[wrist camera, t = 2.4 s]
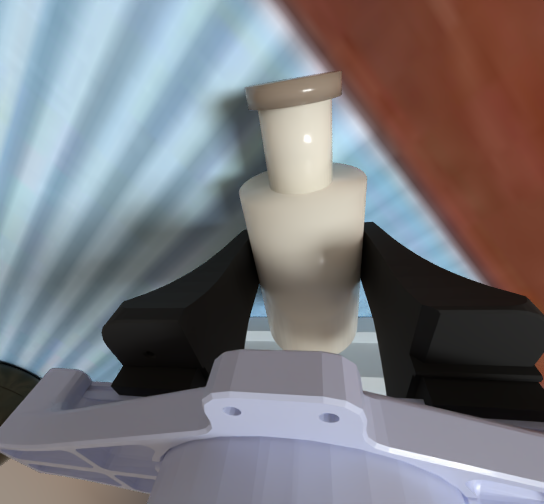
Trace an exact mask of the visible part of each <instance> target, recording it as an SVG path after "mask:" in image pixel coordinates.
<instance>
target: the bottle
mask: <svg viewBox="0 0 544 504" xmlns="http://www.w3.org/2000/svg"><path fill="white" fill-rule="evenodd" d="M245 93H246V98H247V104H248V110H258V114H259V121H260V127H261V134H262V140H263V147H264V153H265V159H266V166H267V171H265V172H263V173H260V174H258V175H256V176H254V177H252V178H250V179H249V180H248V181H246V182H245V183H244V184H243V185H242V186H241V188H240V190H239V196H240V200H241V204H242V209H243V213H244V217H245V222H246V226H247V231H248V235H249V239H250V244H251V248H252V252H253V257H254V261H255V266H256V270H257V274H258V279H259V283H260V287H261V292H262V296H263V300H264V305H265V309H266V314H267V318H268V322H269V327H270V331H271V334H272V337H273V339H274V340H275V342H276V343H277V344H278V346H279V347H281V348H282V349H283V350H297V351H324V352H329V353H335V354H339V353H340V352H342V351H343V350H345V349H346V348H347V347H348V346H349V345H350V344H351V343H352V341H353V340H354V337H355V335H356V332H357V323H358V308H359V293H360V278H361V262H362V247H363V232H364V217H365V202H366V187H367V177H366V175H365V173H364V172H363V171H361V170H360V169H358V168H356V167H353V166H350V165H346V164H341V163H332V98H336V97H338V96H340V95H342V71H334V72H327V73H321V74H314V75H308V76H302V77H296V78H290V79H284V80H279V81H273V82H268V83H263V84H258V85H253V86H248V87H245Z"/></svg>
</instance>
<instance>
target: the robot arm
mask: <svg viewBox="0 0 544 504" xmlns="http://www.w3.org/2000/svg"><path fill="white" fill-rule="evenodd" d="M361 281H362V285H363V288H364V291H365V294H366V297H367V301H368V304H369V307H370V310H371V313H372V317H373V321H374V326H375V331H376V336H377V341H378V347H379V353H380V358H381V364H382V370H383V376H384V382H385V389H386V396H385V395H380V394H376V393H372V392H368V391H363V389H362V382H361V376H360V373H359V371H358V368H357V366H356V364H354V363H353V362H351V361H350V360H348V359H346V358H345V357H343V356H341V355H340V354H335V353H329V352H324V351H297V350H255V349H244V348H245V341H246V335H247V329H248V323H249V318H250V314H251V310H252V307H253V303H254V300H255V296H256V293H257V289H258V286H259V279H258V274H257V270H256V266H255V261H254V257H253V252H252V248H251V244H250V239H249V235H248V231H247V230H244V231H242V232H241V233H240V234H239V235H238V236H236V237H235V238H234V239H233V240H232V241H231V242H230V243H229V244H228V245H226V246H225V247H224V248H223V249H222V250H221V251H219V252H218V253H217V254H216V255H214V256H213V257H212V258H211V259H209V260H208V261H207V262H205V263H204V264H203V265H201V266H200V267H198V268H196V269H195V270H193V271H192V272H190V273H188V274H187V275H185V276H183V277H181V278H179V279H177V280H176V281H174V282H172V283H170V284H168V285H165V286H163V287H161V288H159V289H156V290H154V291H152V292H149V293H147V294H144V295H141V296H138V297H135V298H133V299H130V300H127V301H124V302H123V303H122V304H121V305H120V306H119V308H118V309H117V310H116V311H115V313H114V314H113V315H112V316H111V318H110V319H109V320H108V322H107V323H106V324H105V325H104V327H103V329H102V336H103V340H104V342H105V343H106V345H107V346H108V348H109V349H110V350H111V351H112V353H113V354H114V355H115V356H116V357H117V359H118V360H119V361H120V362H121V363H122V365H123V367H122V369H121V370H120V372H119V373H118V375H117V377H116V378H115V380H114V381H113V383H111V382H92V380H91V378H90V377H89V376H88V375H87V374H86V373H84V372H83V371H80V370H77V369H65V368H52V369H50V370H49V371H48V372H47V373H46V375H45V376H44V377H43V378H42V379H41V380H40V381H39V383H38V384H37V385H36V386H35V387H34V388H33V390H32V391H31V392H30V393H29V394H28V395H27V396H26V398H25V399H24V400H23V401H22V402H21V403H20V405H19V406H18V407H17V408H16V409H15V410H14V411H13V413H12V414H11V415H10V416H9V417H8V418H7V420H6V421H5V422H4V423H3V424H2V425H1V427H0V453H2V454H4V455H6V456H8V457H10V458H12V459H14V460H15V461H17V462H20V463H21V464H23V465H25V466H27V467H29V468H31V469H33V470H35V471H37V472H40V473H45V474H52V475H59V476H65V477H71V478H76V479H82V480H87V481H92V482H97V483H101V484H106V485H110V486H115V487H120V488H124V489H129V490H133V491H138V492H142V493H147V494H150V496H149V499H148V502H147V504H544V389H543V388H542V386H541V385H540V384H539V382H541V381H542V380H543V377H542V375H541V373H540V372H539V371H538V369H537V368H536V367H535V363H536V362H537V361H538V359H539V358H540V357H541V355H542V354H543V353H544V315H543V314H542V312H541V311H540V310H539V309H538V308H537V307H536V306H535V305H534V304H533V303H532V302H531V301H530V300H529V299H528V298H527V297H526V296H522V295H519V294H515V293H512V292H508V291H505V290H501V289H497V288H494V287H490V286H487V285H484V284H481V283H479V282H476V281H473V280H470V279H467V278H465V277H462V276H459V275H457V274H455V273H452V272H450V271H448V270H445V269H443V268H441V267H439V266H437V265H435V264H433V263H431V262H429V261H427V260H425V259H423V258H422V257H420V256H418V255H417V254H415V253H413V252H412V251H410V250H409V249H407V248H406V247H404V246H403V245H401V244H400V243H399V242H397V241H396V240H395V239H393V238H392V237H391V236H389V235H388V234H387V233H386V232H385V231H383V230H382V229H381V228H380V227H379V226H377V225H376V224H375V223H374V222H364V232H363V247H362V262H361Z"/></svg>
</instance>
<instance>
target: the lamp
mask: <svg viewBox="0 0 544 504" xmlns="http://www.w3.org/2000/svg"><path fill="white" fill-rule="evenodd" d="M39 381H40V380H39V379H37V378H36V377H34V376H33V375H31V374H29V373H27V372H25V371H23V370H20V369H18V368H15V367H12V366H8V365H4V364H0V427H1V425H2V424H3V423H4V422H5V421H6V420H7V418H8V417H9V416H10V415H11V414H12V413H13V411H14V410H15V409H16V408H17V407H18V406H19V405H20V403H21V402H22V401H23V400H24V399H25V398H26V396H27V395H28V394H29V393H30V392H31V391H32V390H33V388H34V387H35V386H36V385H37V384H38V383H39ZM9 459H10V457H8V456H6V455H4V454H2V453H0V466H1V465H3V464H4V463H5V462H6V461H8V460H9Z"/></svg>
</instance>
